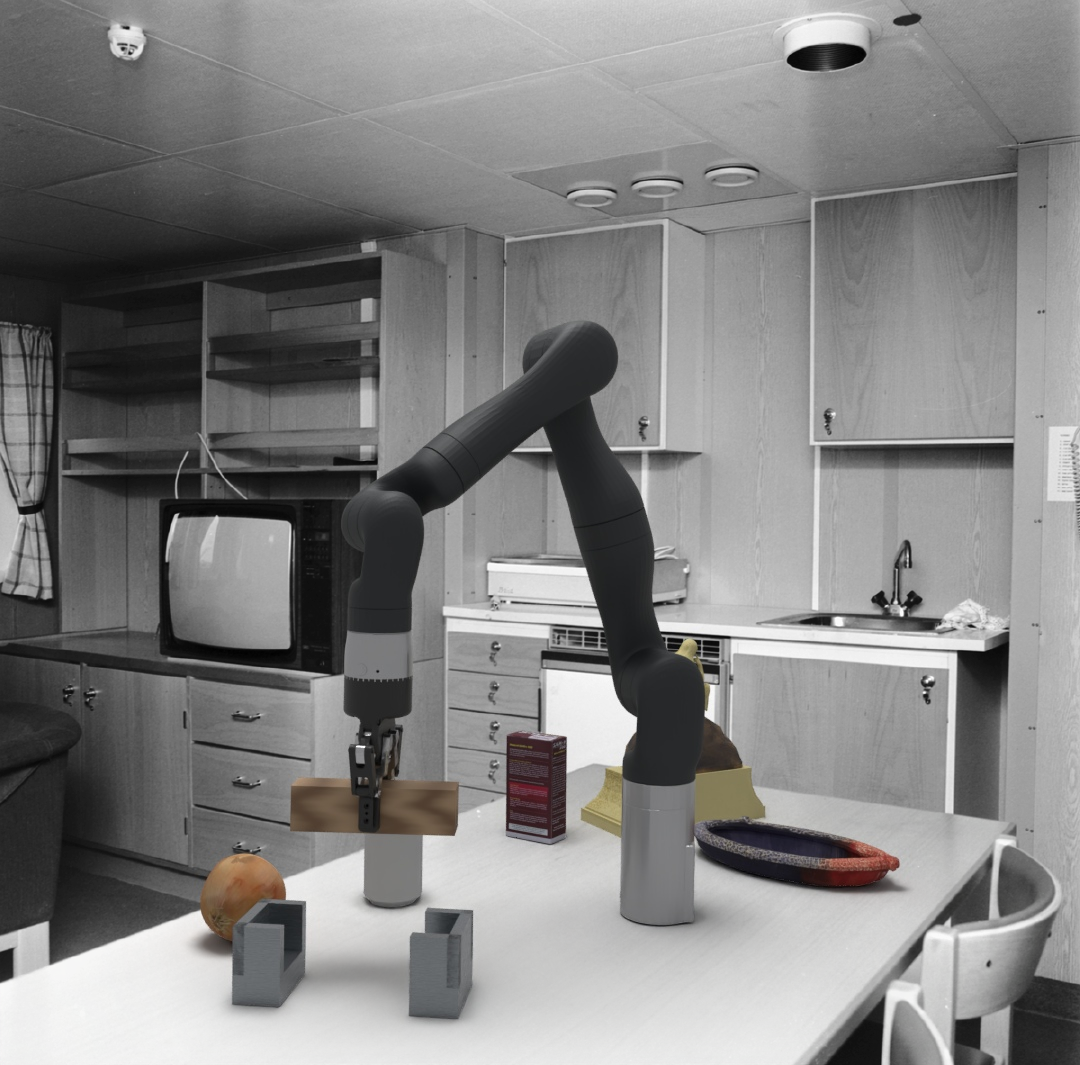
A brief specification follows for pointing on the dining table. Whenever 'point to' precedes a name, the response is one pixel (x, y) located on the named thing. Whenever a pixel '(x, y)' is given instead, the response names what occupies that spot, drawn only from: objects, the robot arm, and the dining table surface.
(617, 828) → the decorative clock
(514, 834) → the supplement box
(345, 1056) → the dining table surface
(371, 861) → the can
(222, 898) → the onion
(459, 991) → the cup brackets
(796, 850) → the dish
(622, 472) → the robot arm
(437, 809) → the rail
